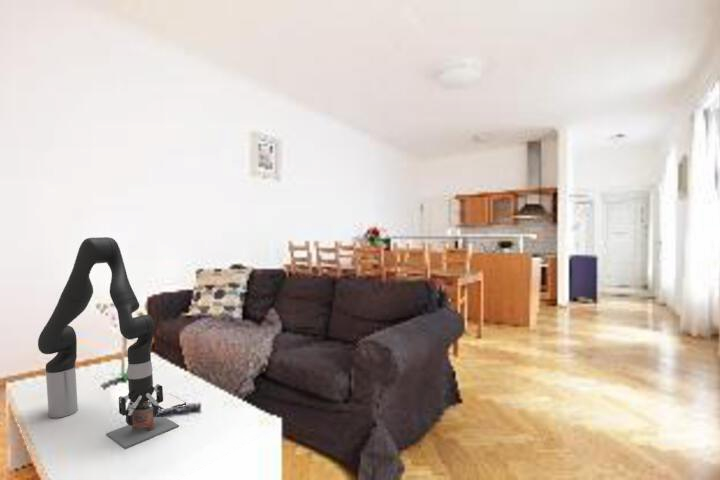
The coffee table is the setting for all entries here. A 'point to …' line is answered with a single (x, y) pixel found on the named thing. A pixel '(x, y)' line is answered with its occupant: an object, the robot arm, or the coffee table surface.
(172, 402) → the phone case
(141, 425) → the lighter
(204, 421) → the coffee table surface
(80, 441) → the coffee table surface
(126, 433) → the rubber mat
